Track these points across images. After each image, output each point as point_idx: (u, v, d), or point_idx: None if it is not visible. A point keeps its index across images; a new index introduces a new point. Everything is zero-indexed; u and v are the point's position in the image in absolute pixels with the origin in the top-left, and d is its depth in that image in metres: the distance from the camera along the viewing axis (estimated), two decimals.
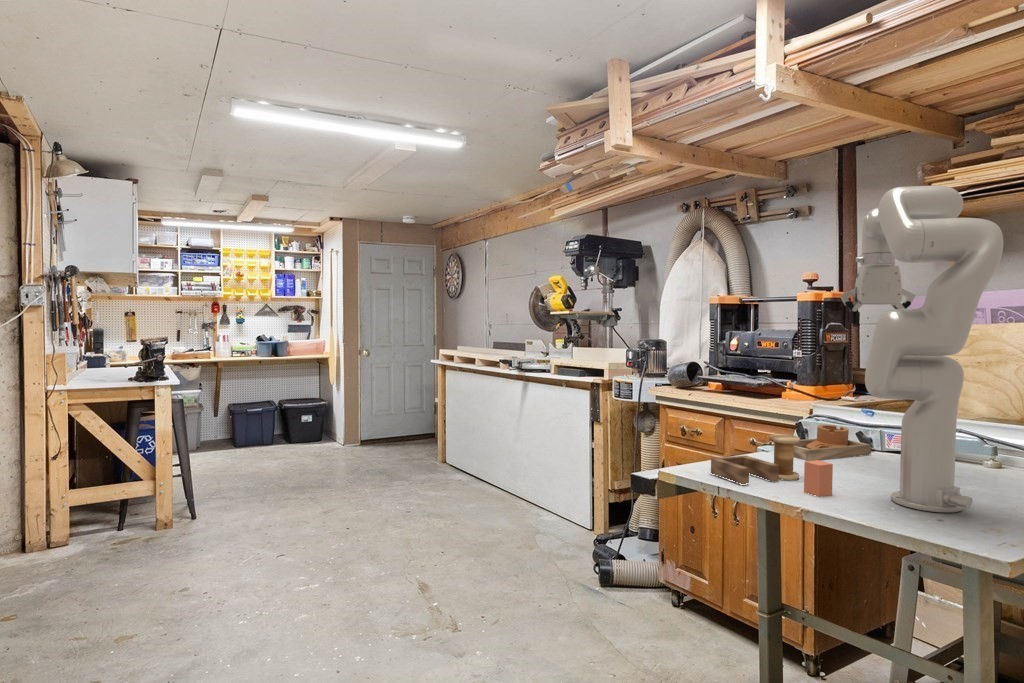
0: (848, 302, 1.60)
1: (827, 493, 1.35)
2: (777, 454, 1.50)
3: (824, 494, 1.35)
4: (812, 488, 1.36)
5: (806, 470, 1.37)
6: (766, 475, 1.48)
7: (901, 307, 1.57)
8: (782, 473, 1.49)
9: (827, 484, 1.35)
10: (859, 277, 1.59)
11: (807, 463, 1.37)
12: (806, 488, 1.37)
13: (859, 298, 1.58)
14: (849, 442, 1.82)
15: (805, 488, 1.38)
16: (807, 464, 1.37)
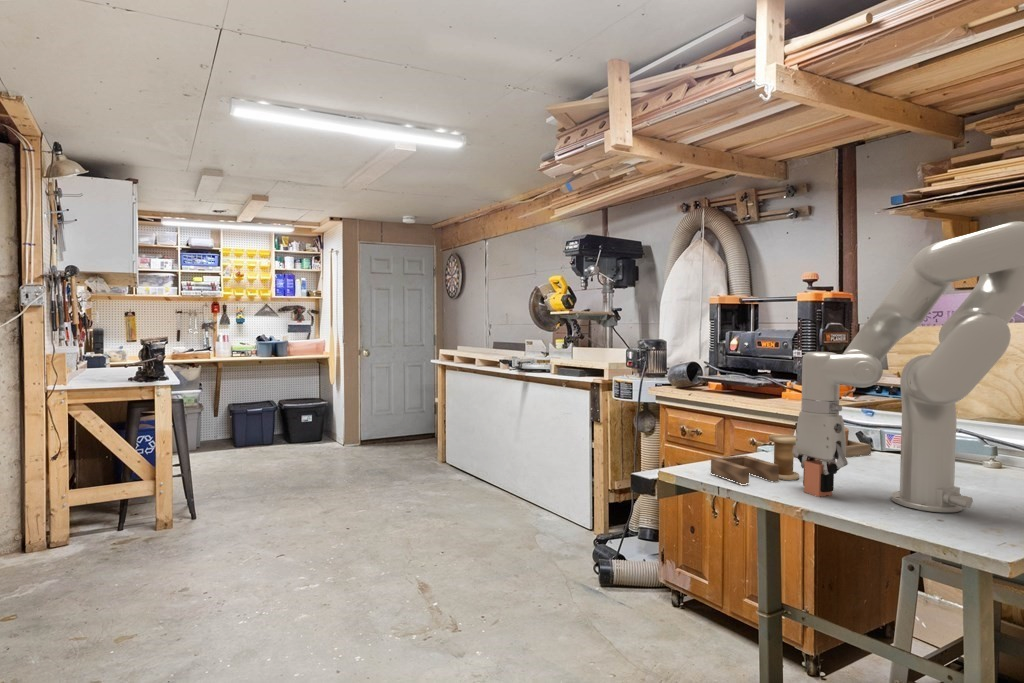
0: None
1: (827, 493, 1.35)
2: (777, 454, 1.50)
3: (824, 494, 1.35)
4: (812, 487, 1.36)
5: (806, 470, 1.37)
6: (766, 475, 1.48)
7: None
8: (782, 473, 1.49)
9: None
10: (843, 429, 1.32)
11: (807, 463, 1.37)
12: (806, 488, 1.37)
13: (845, 454, 1.33)
14: (849, 442, 1.82)
15: (805, 488, 1.38)
16: (807, 464, 1.37)
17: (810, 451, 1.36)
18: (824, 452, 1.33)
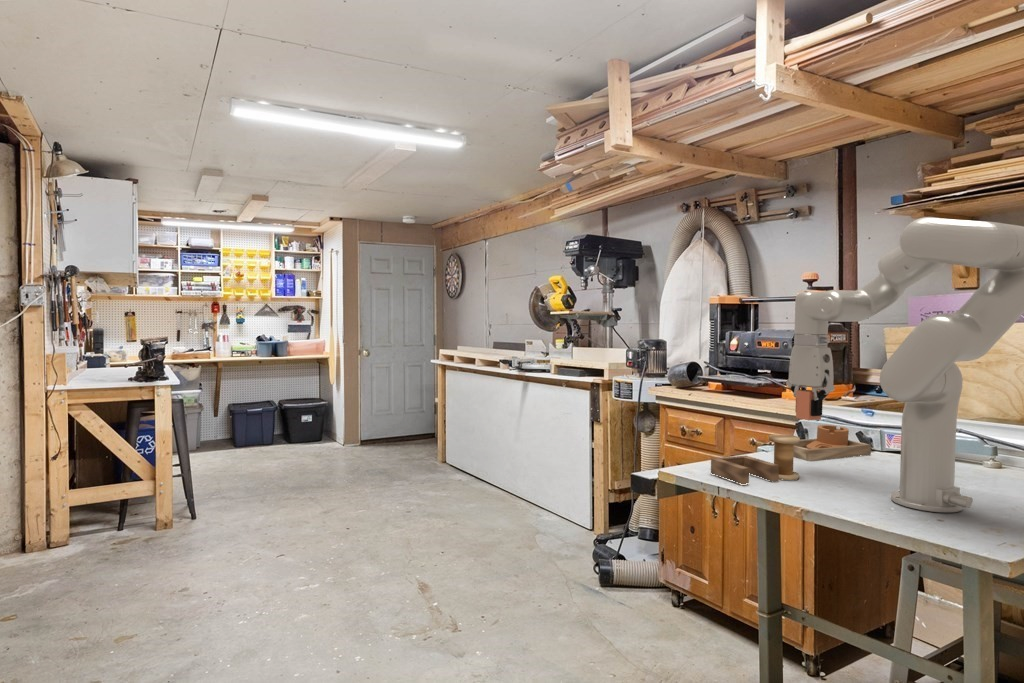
0: None
1: (816, 417, 1.52)
2: (777, 454, 1.50)
3: (814, 418, 1.52)
4: (803, 413, 1.52)
5: (797, 398, 1.54)
6: (766, 475, 1.48)
7: None
8: (782, 473, 1.49)
9: None
10: (831, 359, 1.49)
11: (799, 392, 1.54)
12: (798, 414, 1.54)
13: (832, 382, 1.50)
14: (849, 442, 1.82)
15: (797, 414, 1.54)
16: (799, 392, 1.54)
17: (802, 380, 1.53)
18: (814, 380, 1.49)
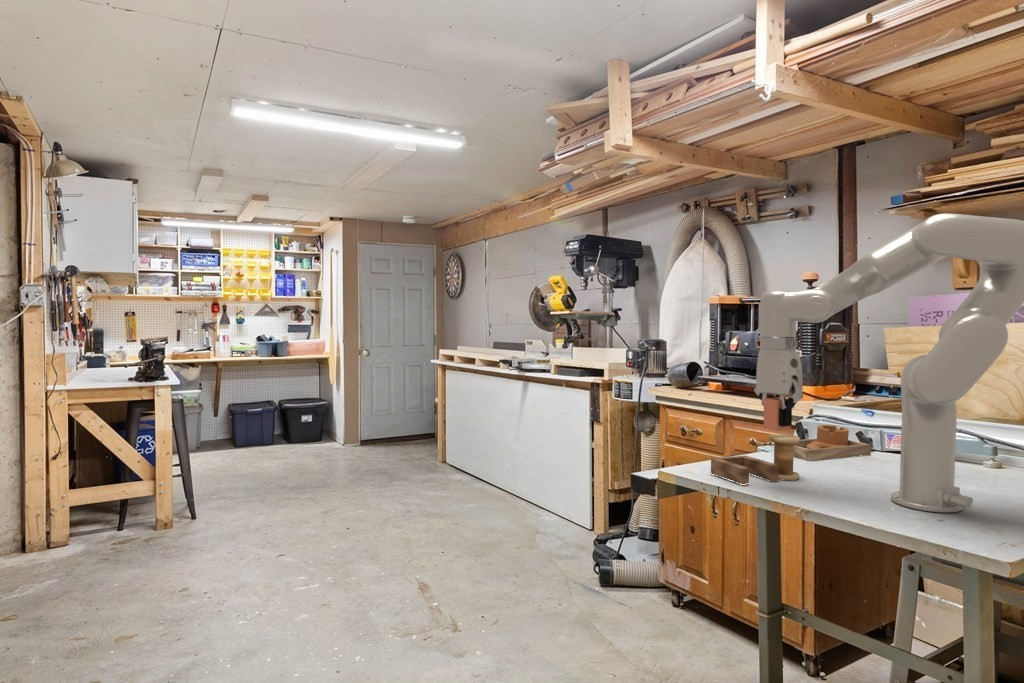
0: None
1: (785, 427, 1.39)
2: (777, 454, 1.50)
3: (782, 428, 1.39)
4: (770, 423, 1.40)
5: (765, 407, 1.41)
6: (766, 475, 1.48)
7: None
8: (782, 473, 1.49)
9: None
10: (799, 364, 1.37)
11: (766, 400, 1.41)
12: (766, 424, 1.41)
13: (802, 389, 1.37)
14: (849, 442, 1.82)
15: (765, 424, 1.42)
16: (766, 400, 1.41)
17: (769, 387, 1.40)
18: (781, 387, 1.37)
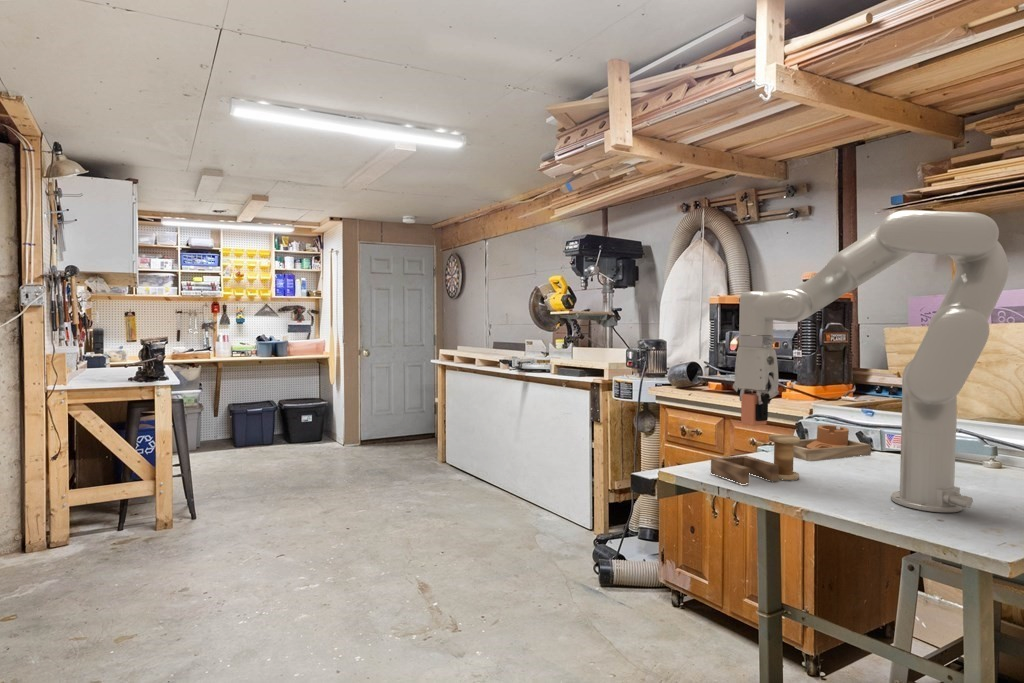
0: None
1: (761, 422, 1.45)
2: (777, 454, 1.50)
3: (759, 423, 1.45)
4: (748, 417, 1.46)
5: (743, 402, 1.47)
6: (766, 475, 1.48)
7: None
8: (782, 473, 1.49)
9: None
10: (775, 362, 1.42)
11: (744, 395, 1.47)
12: (743, 418, 1.47)
13: (777, 385, 1.43)
14: (849, 442, 1.82)
15: (742, 419, 1.48)
16: (744, 396, 1.47)
17: (746, 384, 1.46)
18: (758, 383, 1.43)
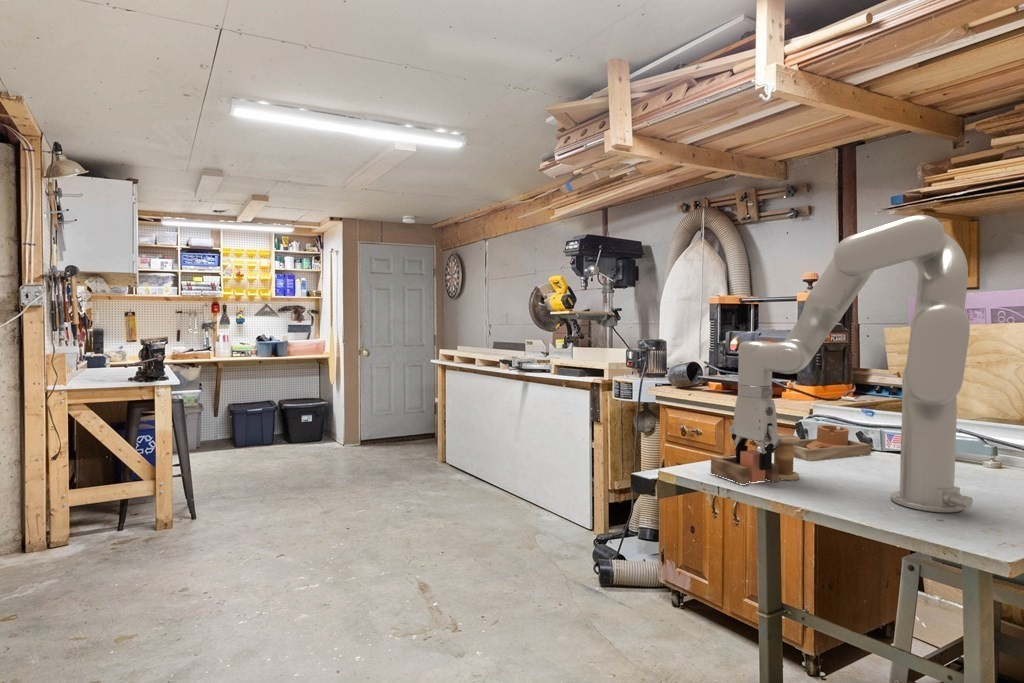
0: None
1: (760, 480, 1.46)
2: (777, 454, 1.50)
3: None
4: None
5: (741, 460, 1.48)
6: (766, 475, 1.48)
7: None
8: (782, 473, 1.49)
9: (760, 472, 1.46)
10: (774, 412, 1.43)
11: (742, 453, 1.47)
12: None
13: None
14: (849, 442, 1.82)
15: None
16: (742, 454, 1.47)
17: (745, 433, 1.46)
18: (757, 434, 1.43)
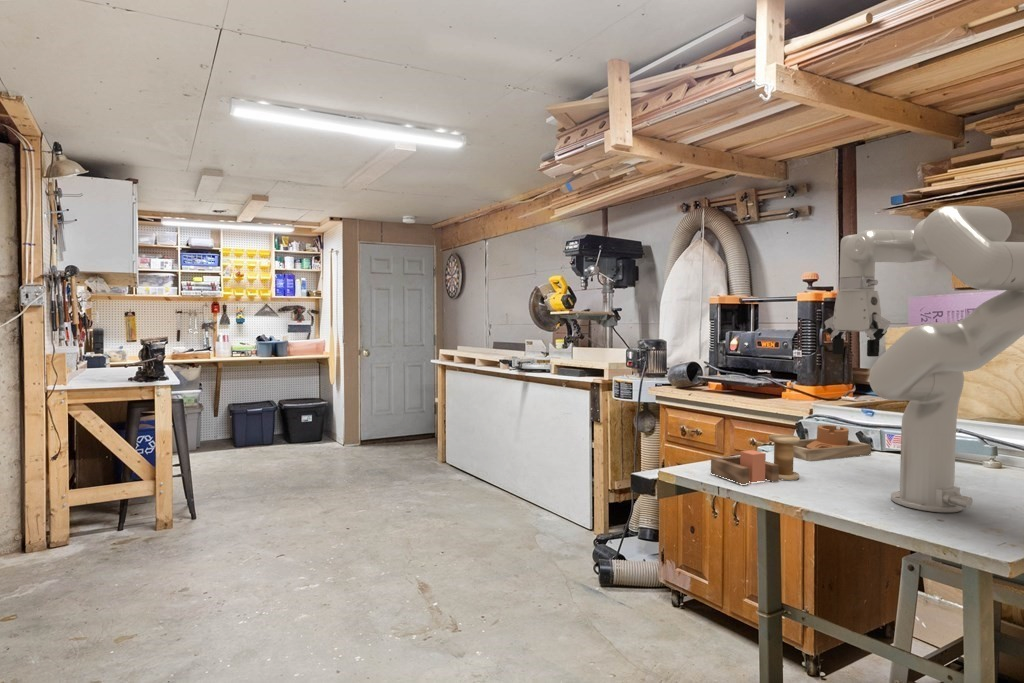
0: None
1: (760, 480, 1.46)
2: (777, 454, 1.50)
3: None
4: None
5: (741, 460, 1.48)
6: (766, 475, 1.48)
7: None
8: (782, 473, 1.49)
9: (760, 472, 1.46)
10: (878, 302, 1.46)
11: (742, 453, 1.47)
12: None
13: None
14: (849, 442, 1.82)
15: None
16: (742, 454, 1.47)
17: (848, 325, 1.50)
18: (861, 323, 1.46)
